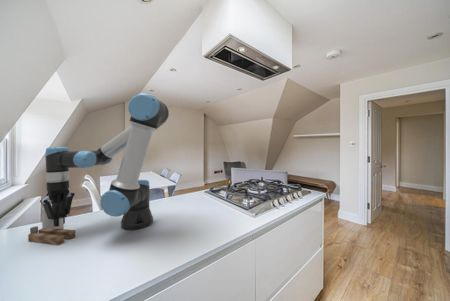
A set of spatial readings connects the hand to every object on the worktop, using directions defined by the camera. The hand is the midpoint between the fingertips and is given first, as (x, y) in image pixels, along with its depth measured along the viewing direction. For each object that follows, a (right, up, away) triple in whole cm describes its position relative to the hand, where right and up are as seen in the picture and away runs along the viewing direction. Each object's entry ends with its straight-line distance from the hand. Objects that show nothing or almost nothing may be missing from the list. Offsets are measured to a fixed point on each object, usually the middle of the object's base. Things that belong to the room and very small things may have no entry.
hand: (59, 232), depth 82 cm
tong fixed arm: (-1, -1, -5) cm, 5 cm away
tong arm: (+1, -1, -2) cm, 2 cm away
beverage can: (-10, -1, +7) cm, 12 cm away
